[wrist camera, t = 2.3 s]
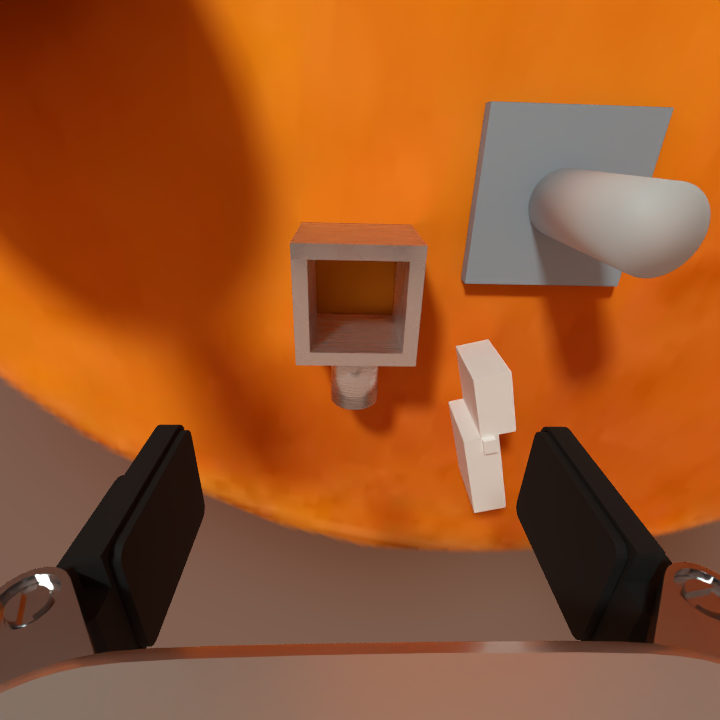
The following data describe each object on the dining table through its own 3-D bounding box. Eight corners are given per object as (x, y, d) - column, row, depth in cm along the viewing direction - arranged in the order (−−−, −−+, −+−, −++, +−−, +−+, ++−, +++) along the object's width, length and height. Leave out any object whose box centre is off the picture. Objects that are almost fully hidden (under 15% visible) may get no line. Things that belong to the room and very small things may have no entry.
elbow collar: (301, 222, 26) (289, 243, 21) (411, 224, 26) (427, 245, 21) (307, 369, 31) (298, 417, 26) (399, 370, 31) (410, 418, 26)
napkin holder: (485, 487, 37) (507, 542, 32) (370, 446, 35) (374, 498, 30) (596, 349, 31) (644, 389, 26) (466, 287, 29) (491, 318, 24)
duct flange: (661, 108, 24) (849, 89, 15) (608, 281, 28) (728, 345, 19) (485, 102, 23) (570, 79, 14) (461, 279, 28) (513, 343, 19)
